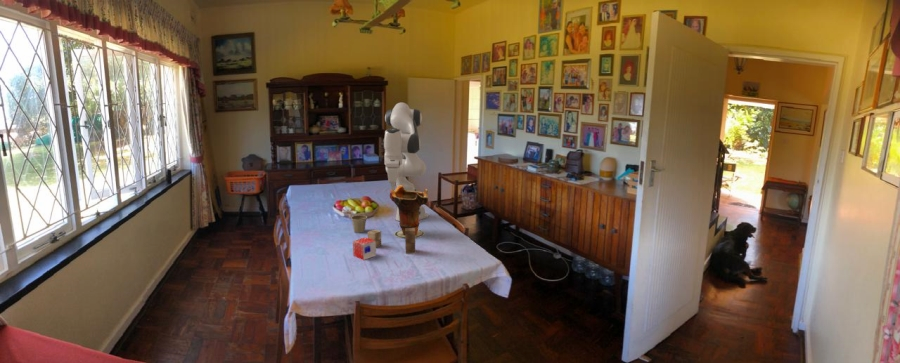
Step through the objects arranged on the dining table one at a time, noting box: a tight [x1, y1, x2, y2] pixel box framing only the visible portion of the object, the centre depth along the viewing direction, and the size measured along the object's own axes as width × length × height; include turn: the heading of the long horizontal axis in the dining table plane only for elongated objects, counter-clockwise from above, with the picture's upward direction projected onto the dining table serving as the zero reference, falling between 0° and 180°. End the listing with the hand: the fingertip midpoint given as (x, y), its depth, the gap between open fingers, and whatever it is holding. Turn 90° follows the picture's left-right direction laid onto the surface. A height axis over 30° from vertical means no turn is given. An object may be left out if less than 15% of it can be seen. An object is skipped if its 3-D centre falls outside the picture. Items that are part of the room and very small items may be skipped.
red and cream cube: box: [352, 236, 377, 261], centre depth 216 cm, size 8×8×8 cm
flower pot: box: [350, 214, 368, 234], centre depth 253 cm, size 9×9×9 cm
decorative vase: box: [389, 185, 429, 239], centre depth 247 cm, size 21×23×28 cm
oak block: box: [367, 229, 382, 248], centre depth 230 cm, size 5×5×8 cm
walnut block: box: [404, 228, 416, 255], centre depth 222 cm, size 5×5×12 cm
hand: (393, 188), depth 219 cm, fingers open, 8 cm apart
